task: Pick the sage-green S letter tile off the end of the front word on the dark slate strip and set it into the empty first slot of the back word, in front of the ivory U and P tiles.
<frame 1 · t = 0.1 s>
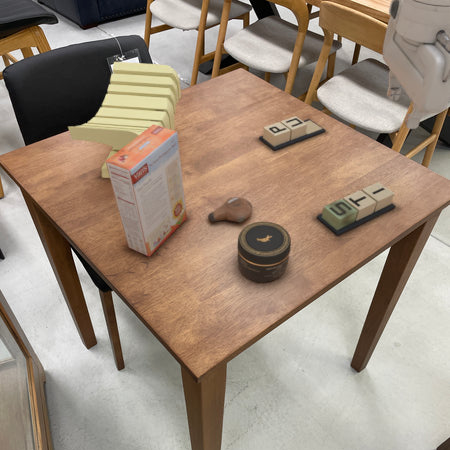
hand: (400, 111, 73), 26 cm above the table, tool pointing down, fingers open, 8 cm apart
jar: (262, 267, 87), on the table
word back: (292, 135, 117), on the table
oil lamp: (230, 217, 96), on the table
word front: (356, 212, 97), on the table
s tile: (337, 219, 94), point 1 cm above the table, touching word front
slatted curved stool: (141, 165, 109), on the table
cracker box: (157, 233, 93), on the table
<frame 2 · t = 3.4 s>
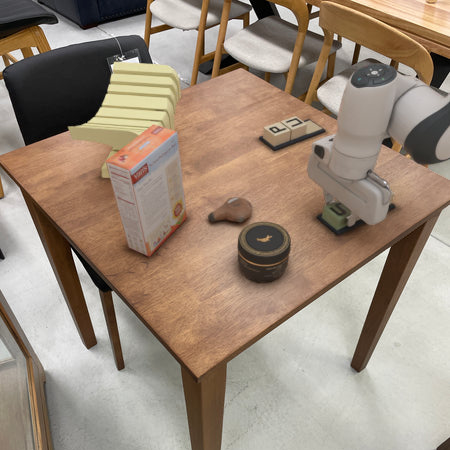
hand: (338, 215, 94), 2 cm above the table, tool pointing down, fingers closed on s tile, 5 cm apart
s tile: (337, 219, 94), point 1 cm above the table, touching gripper, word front
everything else where it was.
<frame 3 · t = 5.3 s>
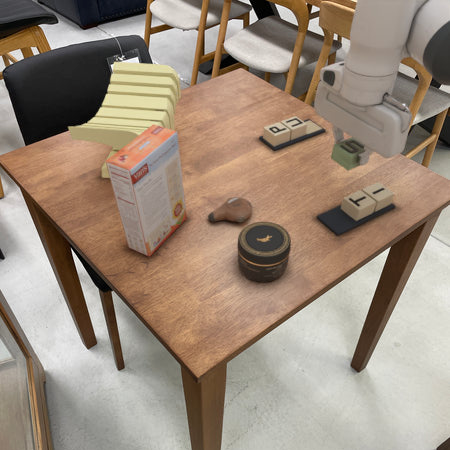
hand: (349, 155, 85), 15 cm above the table, tool pointing down, fingers closed on s tile, 5 cm apart
s tile: (348, 160, 86), point 14 cm above the table, touching gripper
everything else where it was.
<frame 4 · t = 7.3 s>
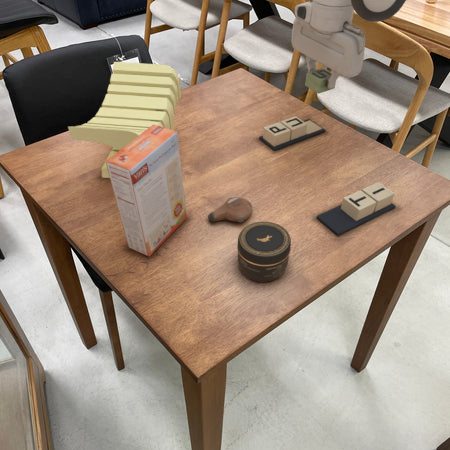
hand: (320, 81, 103), 15 cm above the table, tool pointing down, fingers closed on s tile, 5 cm apart
s tile: (319, 86, 104), point 14 cm above the table, touching gripper
everything else where it was.
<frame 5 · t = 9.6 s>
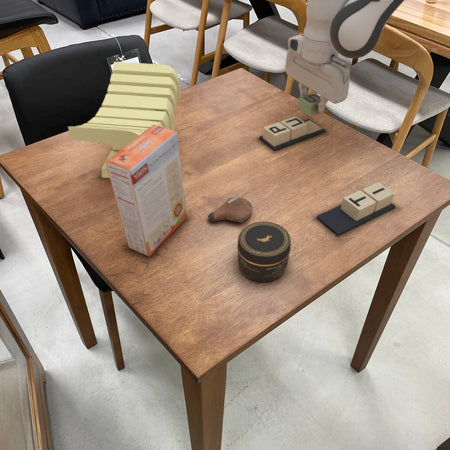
hand: (311, 105, 114), 7 cm above the table, tool pointing down, fingers closed on s tile, 5 cm apart
s tile: (310, 109, 115), point 6 cm above the table, touching gripper
everything else where it was.
when the fingers open (2 cm above the table, at t = 11.2 s): s tile stays where it is, resting on word back.
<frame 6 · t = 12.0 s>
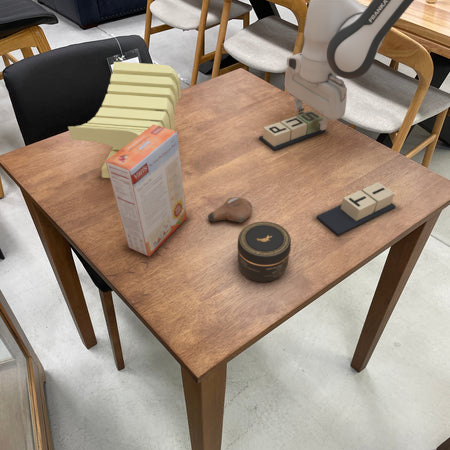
hand: (310, 121, 117), 2 cm above the table, tool pointing down, fingers open, 8 cm apart
s tile: (308, 127, 118), point 1 cm above the table, touching word back
everything else where it was.
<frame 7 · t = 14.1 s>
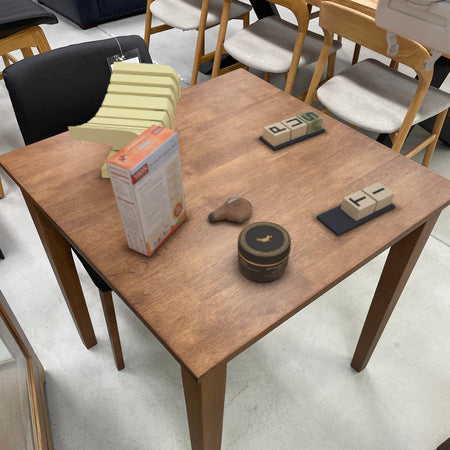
hand: (408, 62, 91), 23 cm above the table, tool pointing down, fingers open, 8 cm apart
nothing on the table moved.
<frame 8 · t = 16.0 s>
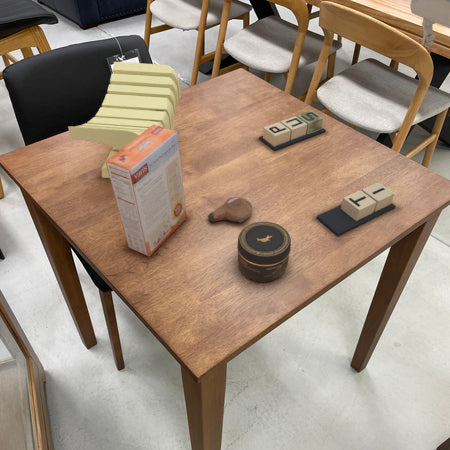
hand: (445, 53, 85), 27 cm above the table, tool pointing down, fingers open, 8 cm apart
nothing on the table moved.
at the end: s tile 0.1 cm from the target spot on the word back, point 0.7 cm above the word back's base; s tile tilted 0°; the gripper is holding nothing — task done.
